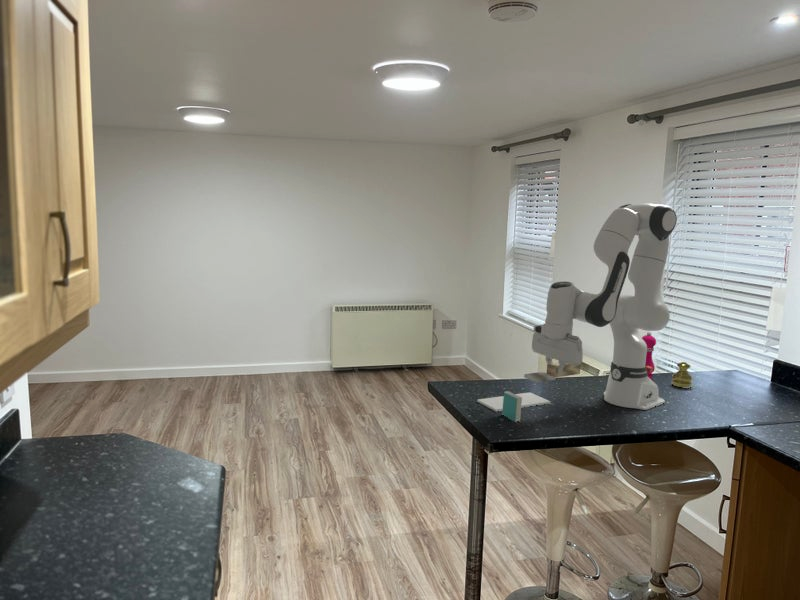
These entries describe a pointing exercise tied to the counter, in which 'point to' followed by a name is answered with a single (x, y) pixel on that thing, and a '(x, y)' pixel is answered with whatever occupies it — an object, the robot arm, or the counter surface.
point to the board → (527, 398)
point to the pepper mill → (649, 351)
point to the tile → (512, 406)
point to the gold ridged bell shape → (682, 376)
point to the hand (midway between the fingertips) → (554, 371)
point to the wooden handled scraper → (553, 372)
